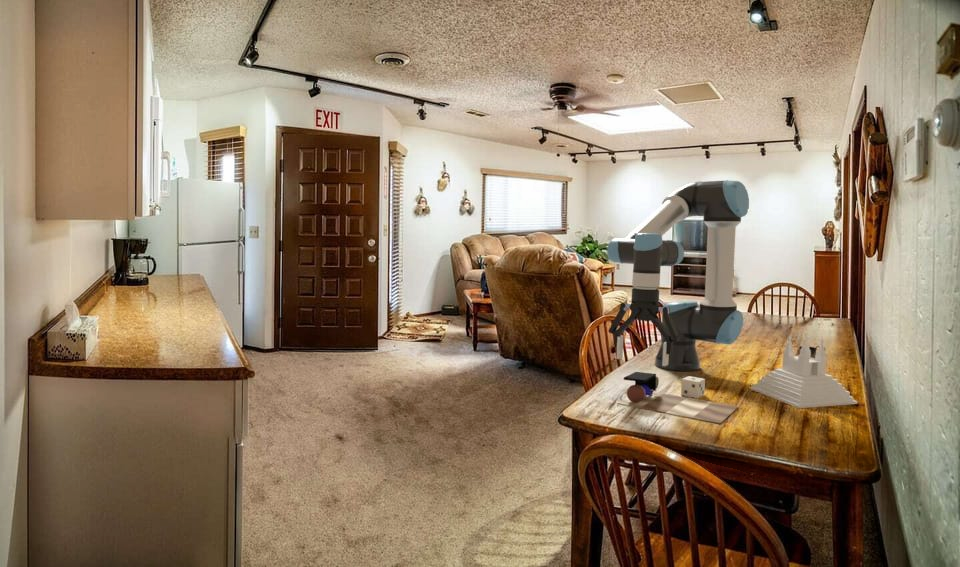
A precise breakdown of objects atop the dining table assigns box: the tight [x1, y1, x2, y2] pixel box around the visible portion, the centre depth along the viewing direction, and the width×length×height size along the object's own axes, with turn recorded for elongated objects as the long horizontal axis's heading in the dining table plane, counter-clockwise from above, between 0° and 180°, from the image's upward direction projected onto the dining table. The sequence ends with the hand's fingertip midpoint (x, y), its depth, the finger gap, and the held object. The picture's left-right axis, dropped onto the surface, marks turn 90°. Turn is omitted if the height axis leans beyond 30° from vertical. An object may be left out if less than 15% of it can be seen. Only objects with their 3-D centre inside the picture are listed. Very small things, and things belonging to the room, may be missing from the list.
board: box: [616, 391, 739, 425], centre depth 172 cm, size 18×28×1 cm, turn 54°
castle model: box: [750, 333, 858, 409], centre depth 184 cm, size 20×20×18 cm
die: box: [680, 375, 706, 399], centre depth 183 cm, size 5×5×5 cm
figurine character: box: [623, 371, 660, 403], centre depth 178 cm, size 7×8×15 cm
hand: (641, 361), depth 177 cm, fingers open, 13 cm apart
